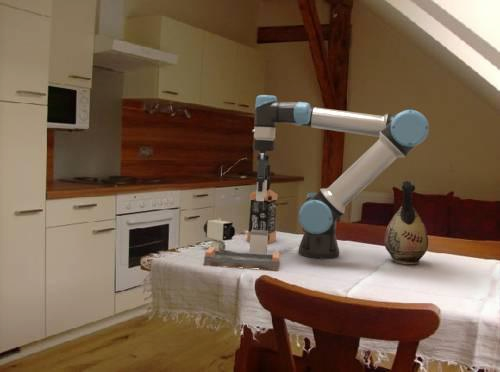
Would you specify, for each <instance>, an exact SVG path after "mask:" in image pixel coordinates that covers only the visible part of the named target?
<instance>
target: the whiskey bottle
mask: <svg viewBox="0 0 500 372" xmlns="http://www.w3.org/2000/svg"><path fill="white" fill-rule="evenodd" d="M270 174H271V165H270V164H268V168H267V175H268V177H269V180H267V193H266V198H264V201H256V190H254V191H253V192H251V193H250V194H249V199H250V206H249V207H250V209H249V219H248V220H249V222H248V231H247V233H246V235H247V236H246V241H247V242H249V243H250V234H251V230H265V231H268V244H267V245H270V244H272V243H274V242H276V241H277V232H276V218H277V217H276V215H277V214H276V213H277V200H278V198H279V197H278V196H279V195H278V193H276V192H274V191H272V189H270V187H271V177H270V176H271V175H270Z"/></svg>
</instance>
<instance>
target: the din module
mask: <svg viewBox="0 0 500 372" xmlns="http://www.w3.org/2000/svg"><path fill="white" fill-rule="evenodd" d="M268 245H269V244H268V231H265V230H251V234H250V242H249V252H248V253H250V254H264V255H268Z"/></svg>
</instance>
